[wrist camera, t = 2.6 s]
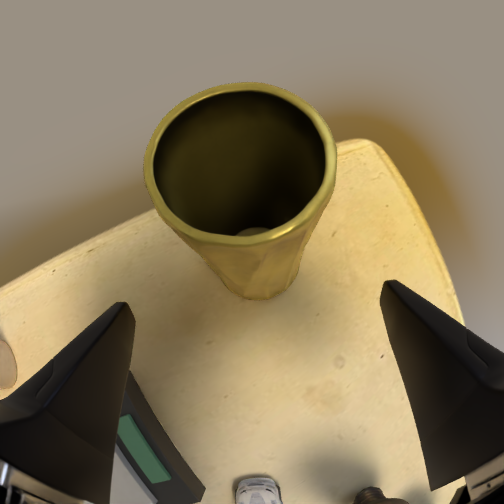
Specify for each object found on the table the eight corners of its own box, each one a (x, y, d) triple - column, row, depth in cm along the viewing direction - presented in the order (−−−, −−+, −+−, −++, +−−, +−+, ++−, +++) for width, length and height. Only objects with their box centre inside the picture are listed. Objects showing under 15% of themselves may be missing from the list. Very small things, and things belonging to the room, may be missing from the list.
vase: (261, 317, 20) (247, 325, 6) (199, 262, 21) (90, 171, 7) (316, 253, 21) (394, 144, 7) (253, 203, 22) (232, 50, 8)
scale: (206, 488, 17) (198, 507, 14) (96, 505, 16) (83, 517, 13) (130, 370, 19) (111, 376, 16) (37, 409, 19) (18, 415, 16)
